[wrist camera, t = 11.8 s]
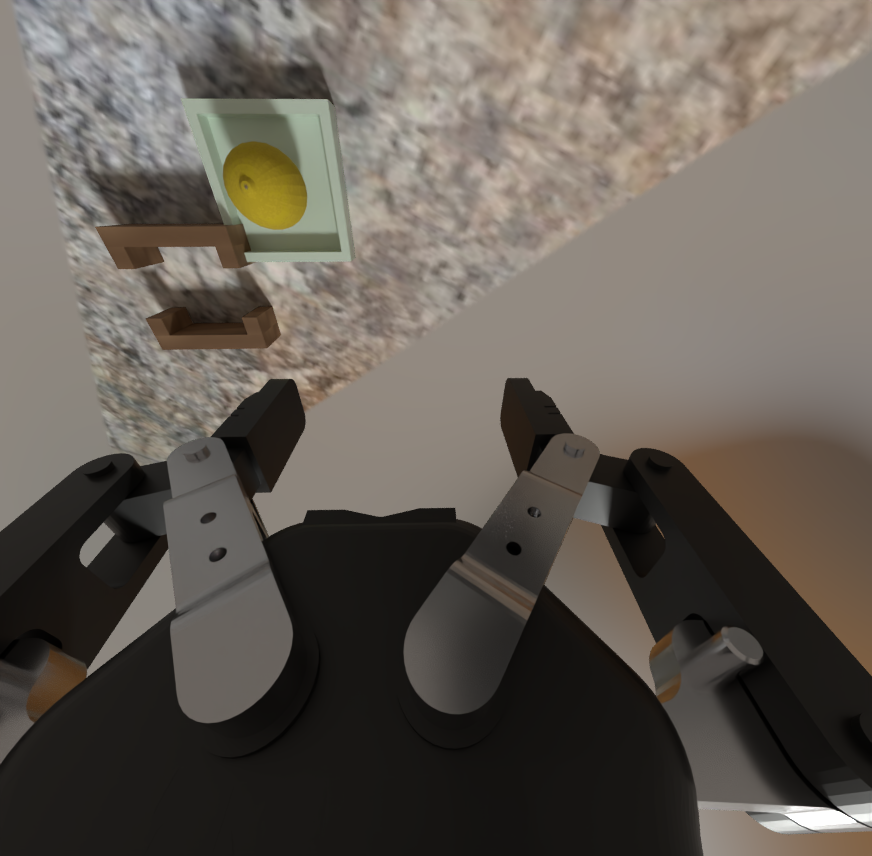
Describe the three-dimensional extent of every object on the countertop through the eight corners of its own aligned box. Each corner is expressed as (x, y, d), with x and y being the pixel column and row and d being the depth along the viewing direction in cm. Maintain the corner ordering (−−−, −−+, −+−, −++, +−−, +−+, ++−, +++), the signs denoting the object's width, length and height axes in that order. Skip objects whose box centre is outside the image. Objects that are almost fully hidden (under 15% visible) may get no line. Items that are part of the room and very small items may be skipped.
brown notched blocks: (130, 224, 30) (95, 226, 27) (246, 223, 30) (225, 226, 27) (185, 336, 36) (162, 349, 33) (280, 335, 37) (267, 348, 33)
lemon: (308, 238, 30) (278, 248, 24) (248, 205, 28) (197, 206, 22) (325, 174, 27) (296, 166, 21) (259, 133, 26) (205, 110, 19)
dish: (198, 105, 25) (180, 98, 23) (334, 106, 25) (327, 99, 24) (247, 258, 32) (236, 262, 30) (355, 257, 32) (351, 261, 30)
